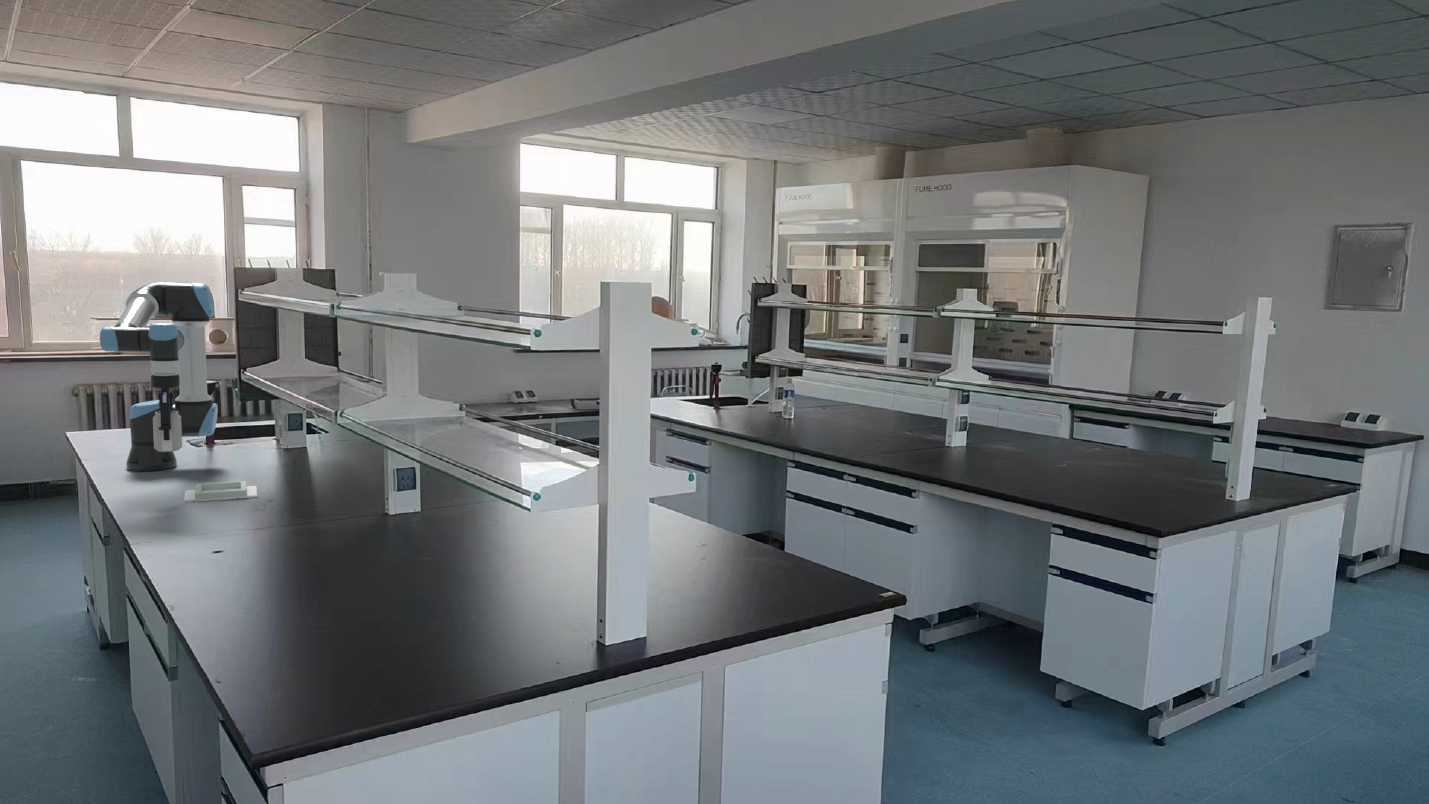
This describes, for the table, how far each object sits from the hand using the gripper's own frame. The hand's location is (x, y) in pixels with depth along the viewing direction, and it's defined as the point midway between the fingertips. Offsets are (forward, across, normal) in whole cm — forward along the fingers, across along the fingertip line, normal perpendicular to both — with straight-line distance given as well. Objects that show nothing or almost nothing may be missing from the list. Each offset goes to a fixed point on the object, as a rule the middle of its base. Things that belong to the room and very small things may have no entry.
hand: (168, 448), depth 287 cm
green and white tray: (+15, +3, +14) cm, 21 cm away
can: (+1, 0, 0) cm, 1 cm away
